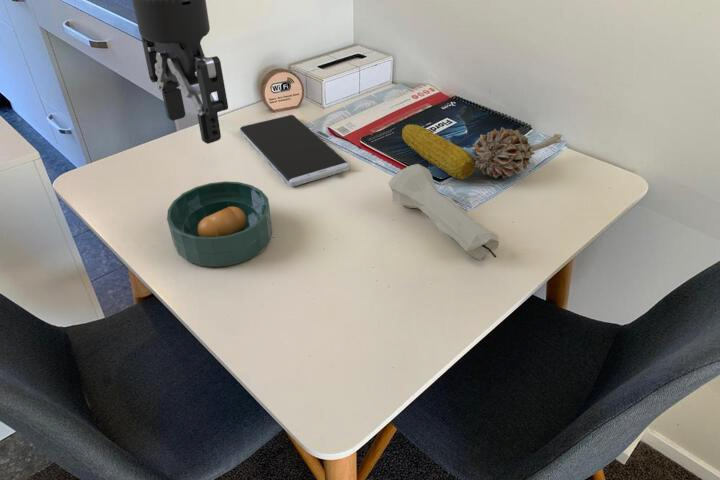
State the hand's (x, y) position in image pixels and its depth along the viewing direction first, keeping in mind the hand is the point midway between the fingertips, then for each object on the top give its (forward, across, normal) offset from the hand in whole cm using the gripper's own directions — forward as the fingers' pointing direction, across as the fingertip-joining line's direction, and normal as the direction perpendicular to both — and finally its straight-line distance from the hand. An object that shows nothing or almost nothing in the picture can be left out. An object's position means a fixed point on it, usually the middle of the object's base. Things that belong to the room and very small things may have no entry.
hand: (194, 129), depth 65 cm
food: (+24, -1, +51) cm, 56 cm away
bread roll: (+24, -8, +6) cm, 26 cm away
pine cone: (+24, +13, +61) cm, 66 cm away
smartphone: (+24, -24, +32) cm, 47 cm away
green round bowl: (+24, -8, +6) cm, 26 cm away
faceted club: (+24, +15, +34) cm, 44 cm away
